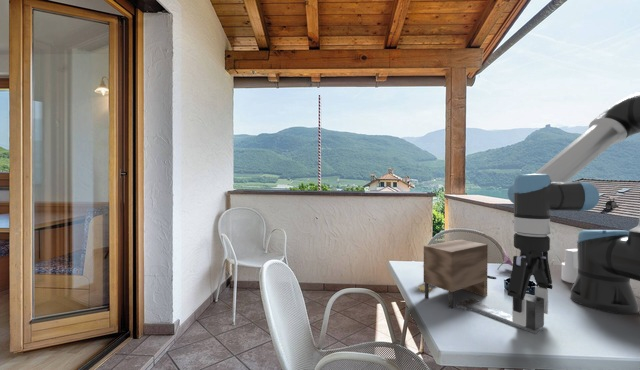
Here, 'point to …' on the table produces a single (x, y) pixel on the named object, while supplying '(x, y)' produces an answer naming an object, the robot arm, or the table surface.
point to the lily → (507, 259)
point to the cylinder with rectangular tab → (570, 266)
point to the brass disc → (423, 288)
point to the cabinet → (456, 267)
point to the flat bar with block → (532, 315)
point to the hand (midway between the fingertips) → (530, 317)
